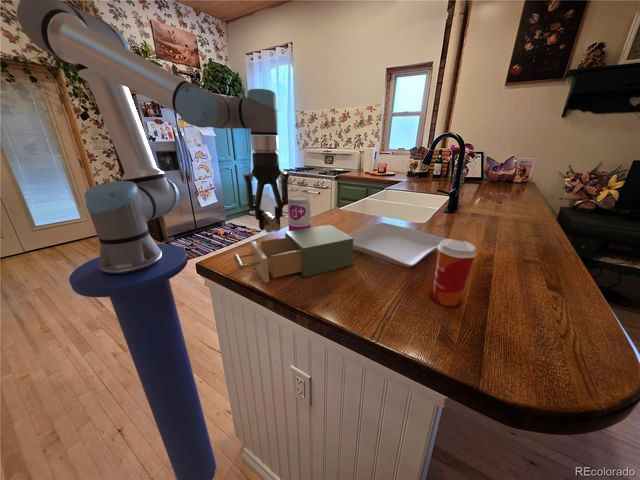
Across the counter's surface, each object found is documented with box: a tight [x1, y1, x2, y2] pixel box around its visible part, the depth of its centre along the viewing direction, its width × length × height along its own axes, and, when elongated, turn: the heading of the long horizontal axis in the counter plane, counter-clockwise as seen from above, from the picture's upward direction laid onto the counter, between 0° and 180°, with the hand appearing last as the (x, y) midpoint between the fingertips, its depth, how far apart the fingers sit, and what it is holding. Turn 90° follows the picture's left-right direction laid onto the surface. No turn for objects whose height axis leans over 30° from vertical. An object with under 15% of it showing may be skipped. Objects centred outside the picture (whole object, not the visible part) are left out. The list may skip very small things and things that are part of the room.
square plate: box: [347, 221, 447, 269], centre depth 86 cm, size 27×27×4 cm
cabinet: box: [284, 224, 354, 278], centre depth 76 cm, size 16×14×9 cm
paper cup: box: [432, 238, 478, 307], centre depth 58 cm, size 8×8×14 cm
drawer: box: [233, 236, 303, 283], centre depth 71 cm, size 20×12×7 cm, turn 117°
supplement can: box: [287, 195, 312, 231], centre depth 94 cm, size 8×8×15 cm
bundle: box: [263, 211, 281, 234], centre depth 82 cm, size 7×5×5 cm
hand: (269, 227), depth 82 cm, fingers closed on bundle, 5 cm apart
